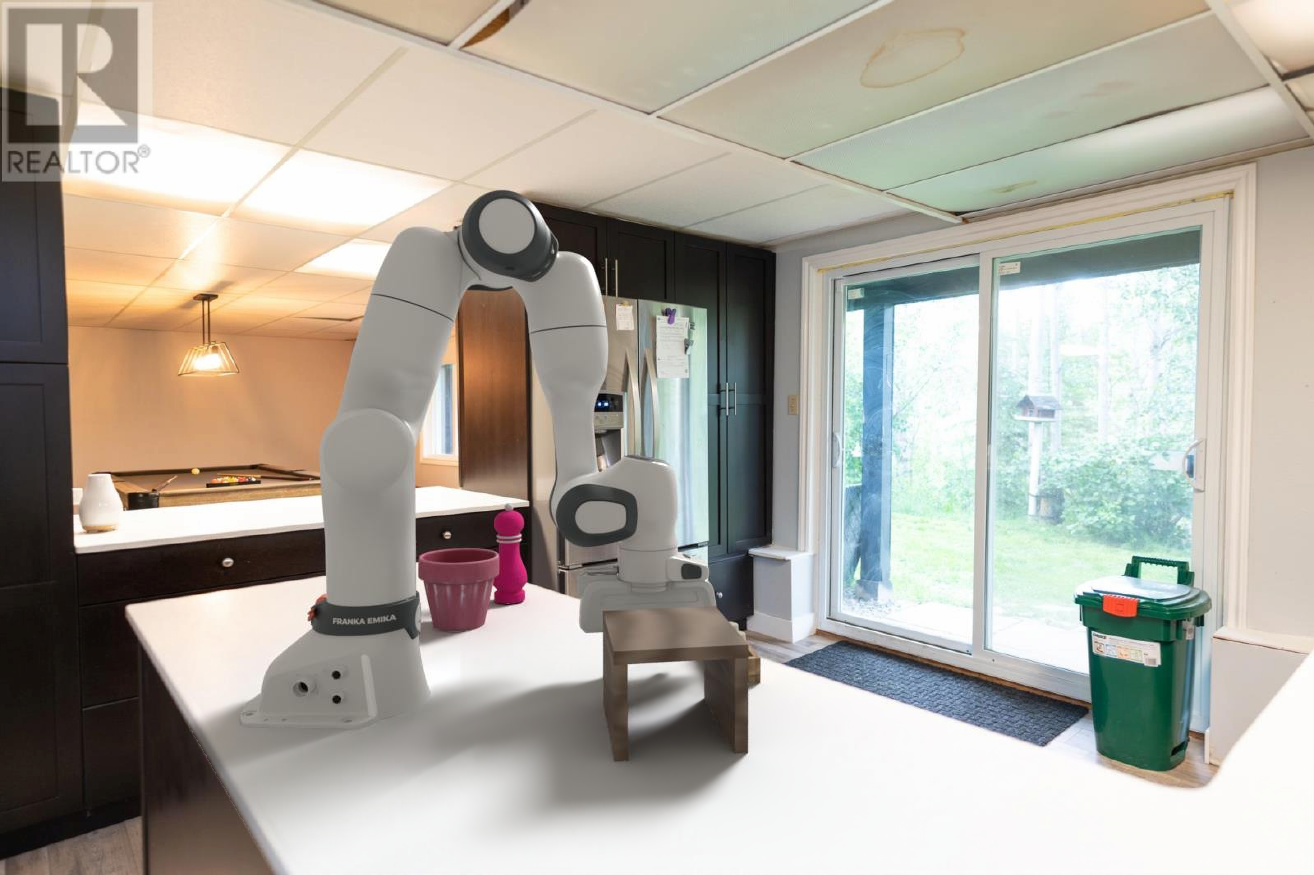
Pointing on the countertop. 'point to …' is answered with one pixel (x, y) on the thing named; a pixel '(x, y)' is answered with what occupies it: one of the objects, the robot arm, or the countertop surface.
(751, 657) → the teak tray
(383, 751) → the countertop surface
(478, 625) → the plant pot
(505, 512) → the pepper mill
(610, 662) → the brown wooden side table
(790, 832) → the countertop surface
